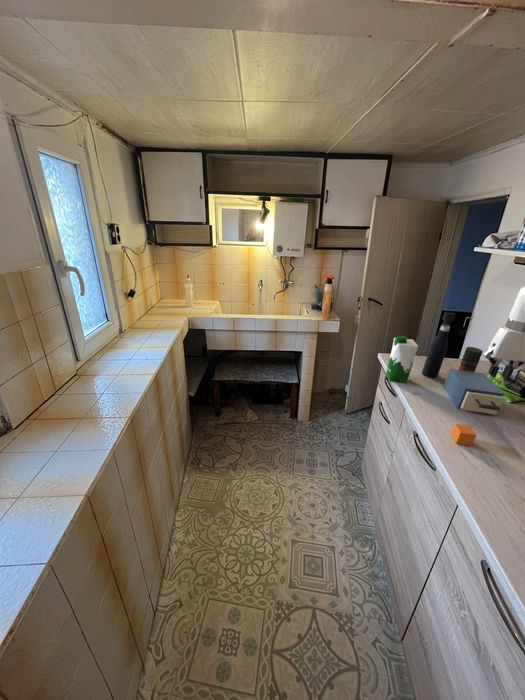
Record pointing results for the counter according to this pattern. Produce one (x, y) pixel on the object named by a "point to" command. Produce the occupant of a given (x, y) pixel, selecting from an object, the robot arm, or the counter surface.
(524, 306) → the robot arm
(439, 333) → the black water bottle
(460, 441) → the small orange cuboid
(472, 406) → the white drawer
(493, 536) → the counter surface
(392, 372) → the milk carton
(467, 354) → the deodorant
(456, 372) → the blue drawer cabinet
